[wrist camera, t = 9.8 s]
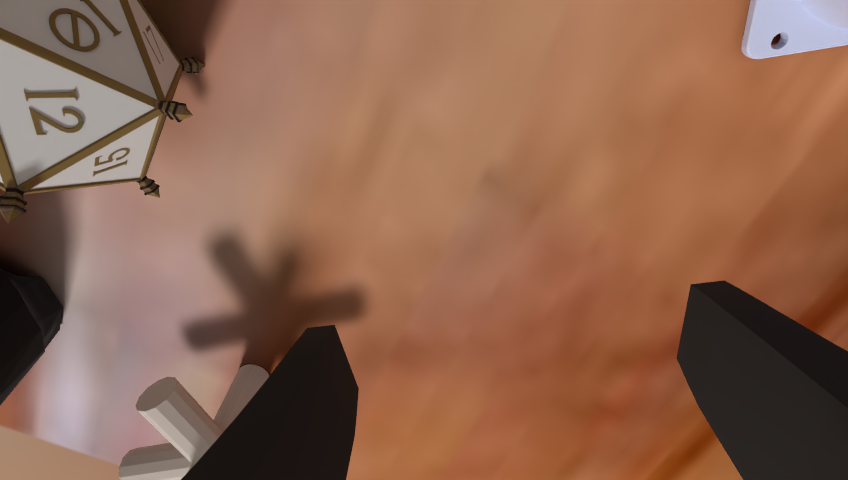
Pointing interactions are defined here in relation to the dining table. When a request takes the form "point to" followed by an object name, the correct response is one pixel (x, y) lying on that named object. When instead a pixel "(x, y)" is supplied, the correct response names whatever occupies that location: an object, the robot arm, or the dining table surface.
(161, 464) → the pipe connector
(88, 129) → the game die
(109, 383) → the dining table surface
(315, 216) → the dining table surface
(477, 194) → the dining table surface
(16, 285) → the portable speaker
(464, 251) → the dining table surface
